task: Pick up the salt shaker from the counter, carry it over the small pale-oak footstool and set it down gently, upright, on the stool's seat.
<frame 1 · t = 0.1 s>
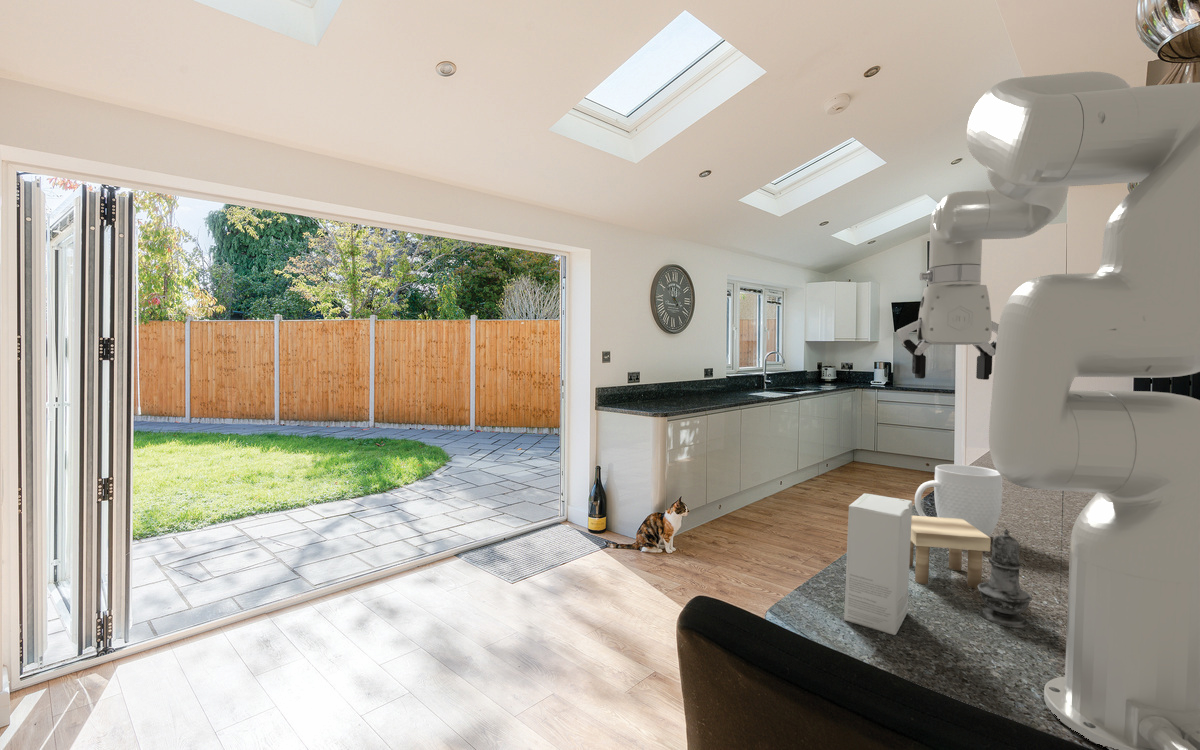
hand: (950, 378, 95), 31 cm above the countertop, tool pointing down, fingers open, 9 cm apart
skincare box: (877, 619, 73), on the countertop
mug: (959, 536, 108), on the countertop
salt shaker: (1003, 619, 74), on the countertop
stool: (938, 575, 88), on the countertop
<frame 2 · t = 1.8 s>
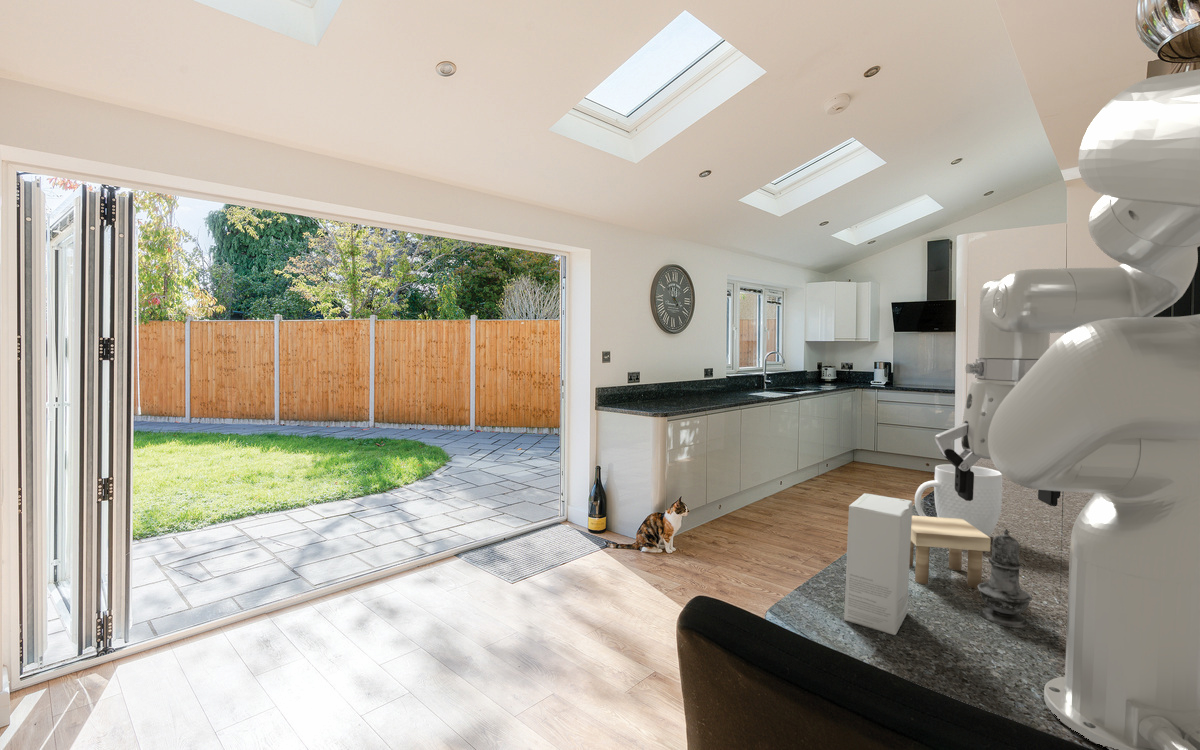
hand: (1005, 500, 74), 16 cm above the countertop, tool pointing down, fingers open, 9 cm apart
nothing on the countertop moved.
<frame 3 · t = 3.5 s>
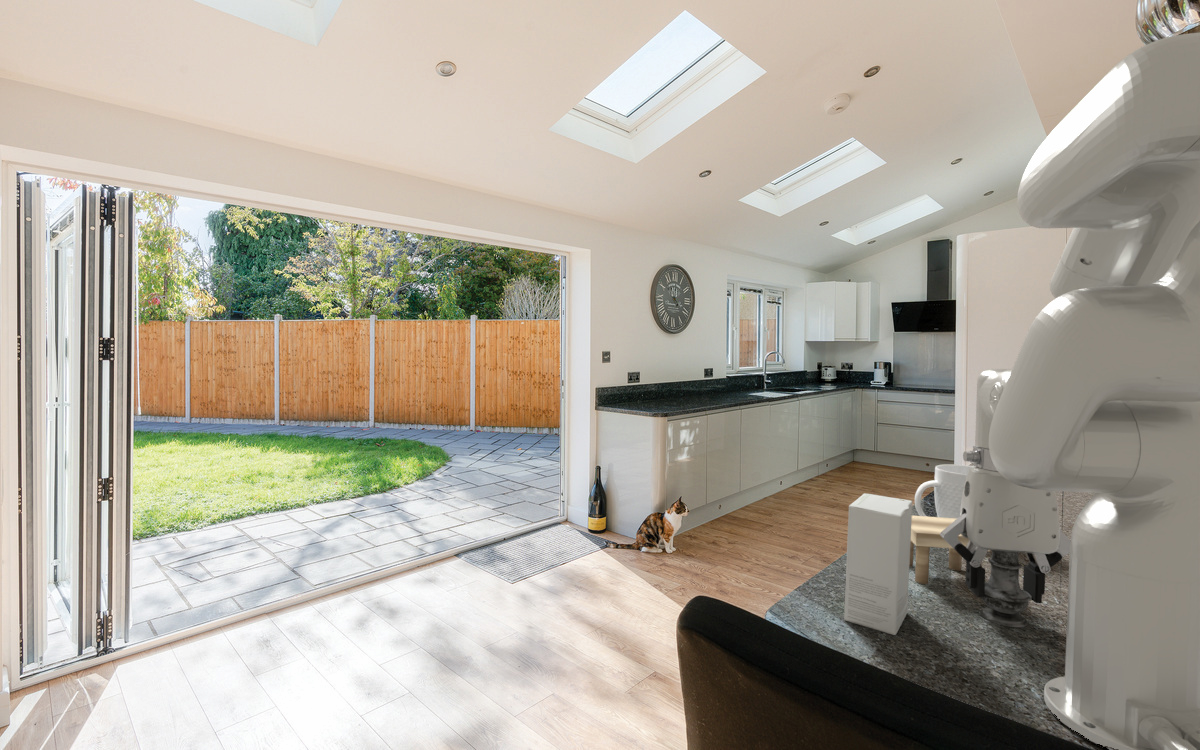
hand: (1003, 594, 74), 3 cm above the countertop, tool pointing down, fingers closed on salt shaker, 5 cm apart
salt shaker: (1003, 619, 74), on the countertop, touching gripper
everything else where it was.
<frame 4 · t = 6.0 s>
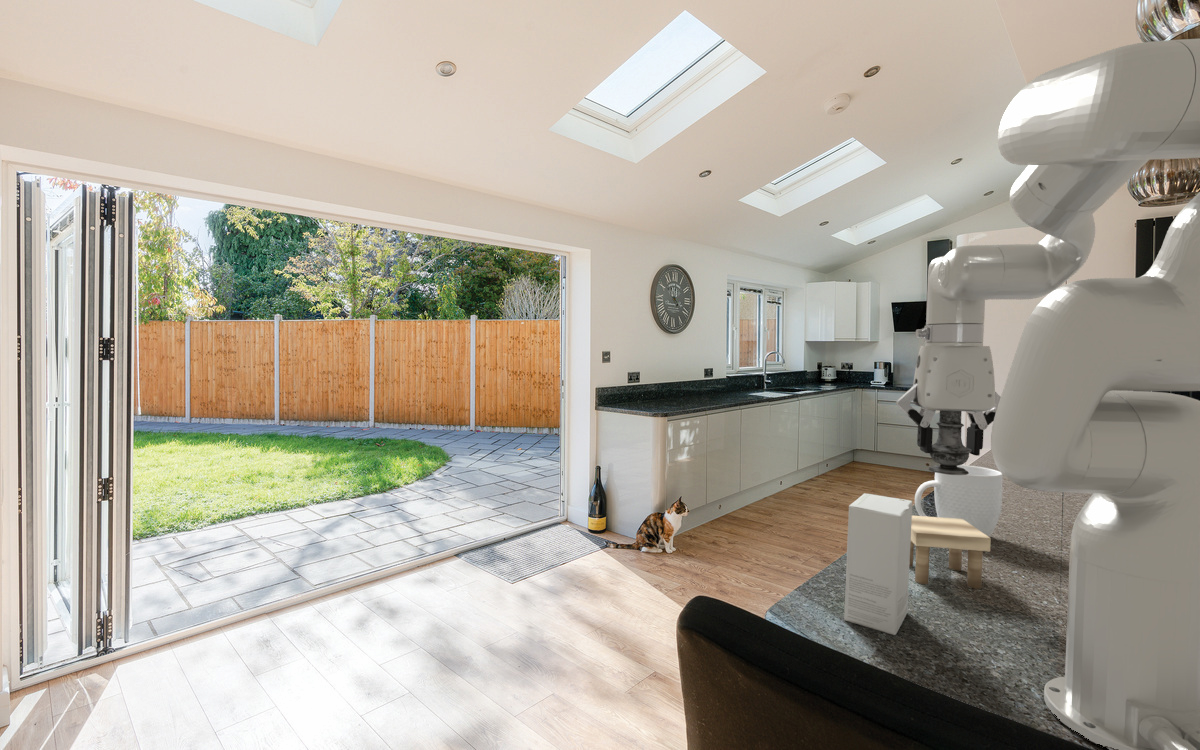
hand: (949, 451, 86), 20 cm above the countertop, tool pointing down, fingers closed on salt shaker, 5 cm apart
salt shaker: (948, 472, 86), point 17 cm above the countertop, touching gripper
everything else where it was.
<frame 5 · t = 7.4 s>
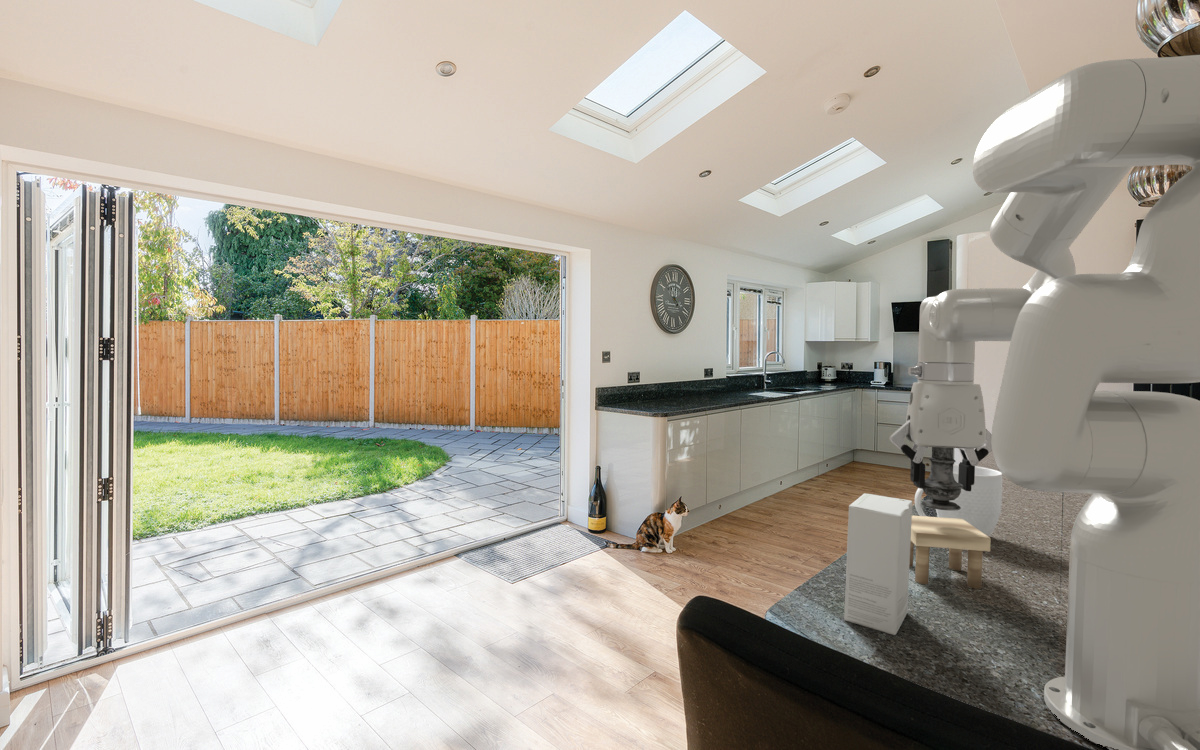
hand: (941, 486, 87), 14 cm above the countertop, tool pointing down, fingers closed on salt shaker, 5 cm apart
salt shaker: (940, 507, 88), point 11 cm above the countertop, touching gripper
everything else where it was.
when the fingers open (12 cm above the countertop, at t = 8.8 s): salt shaker stays where it is, resting on stool.
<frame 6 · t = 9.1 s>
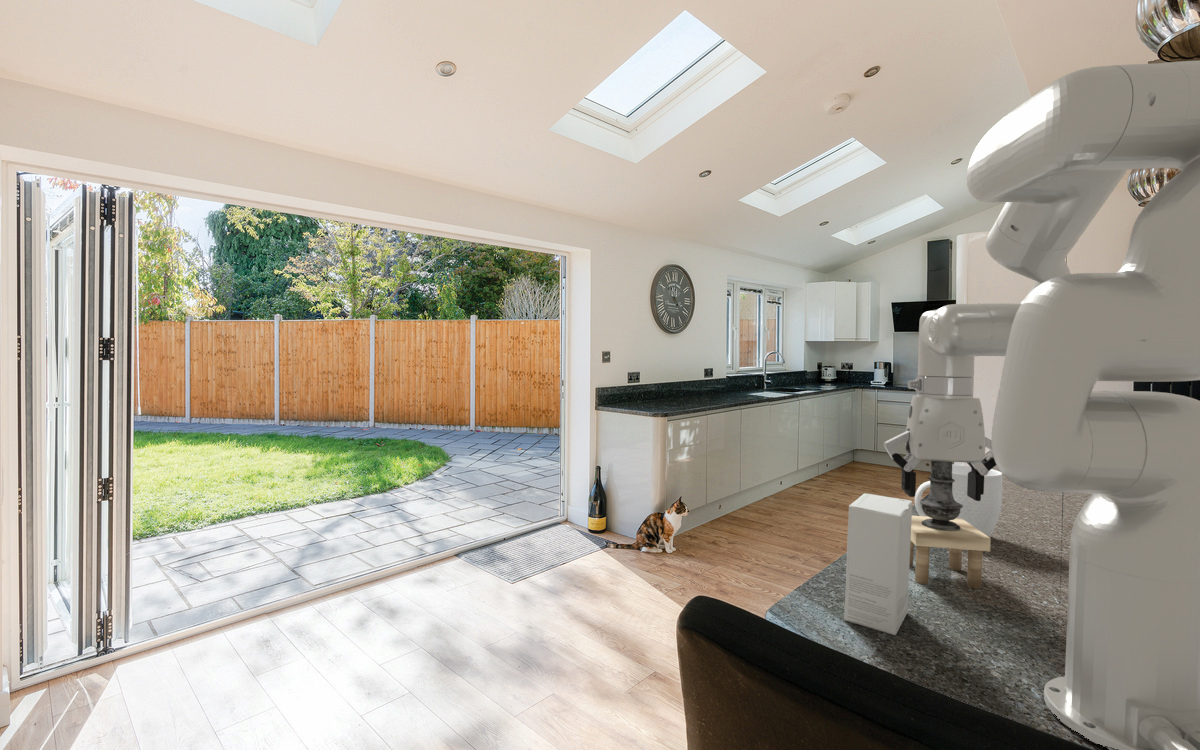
hand: (941, 496, 87), 13 cm above the countertop, tool pointing down, fingers open, 8 cm apart
salt shaker: (940, 526, 87), point 8 cm above the countertop, touching stool
everything else where it was.
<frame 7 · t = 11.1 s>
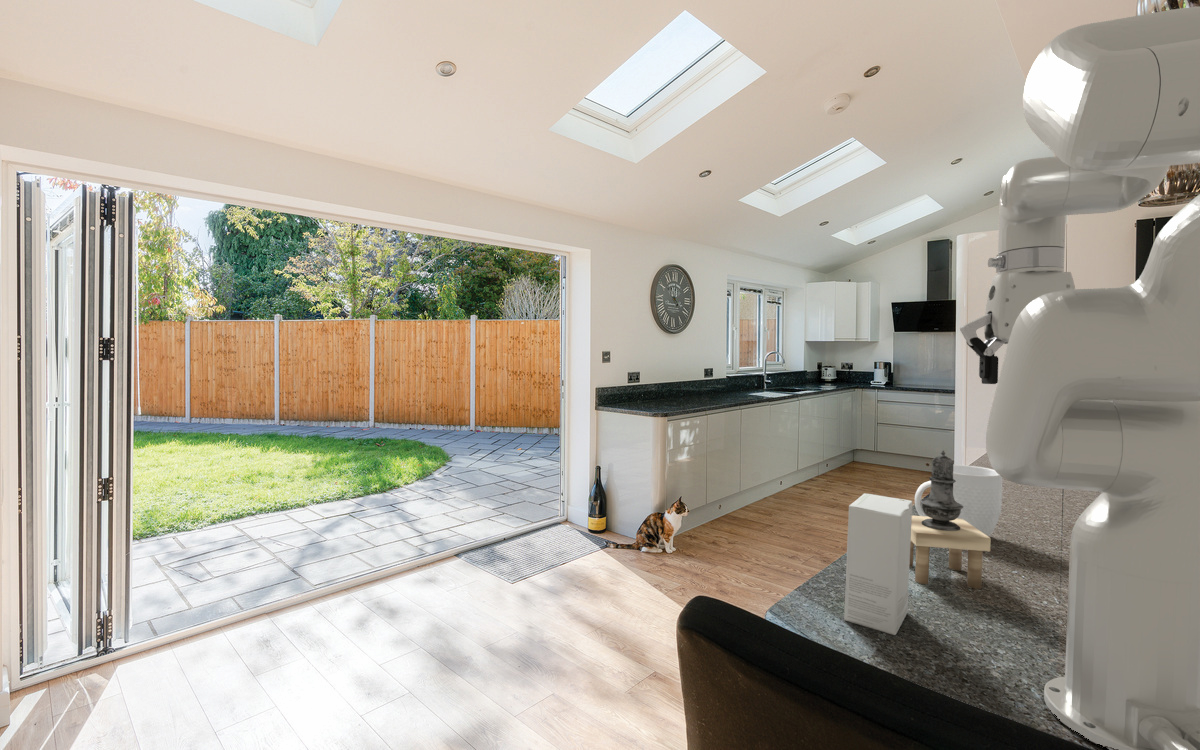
hand: (1026, 384, 79), 31 cm above the countertop, tool pointing down, fingers open, 9 cm apart
nothing on the countertop moved.
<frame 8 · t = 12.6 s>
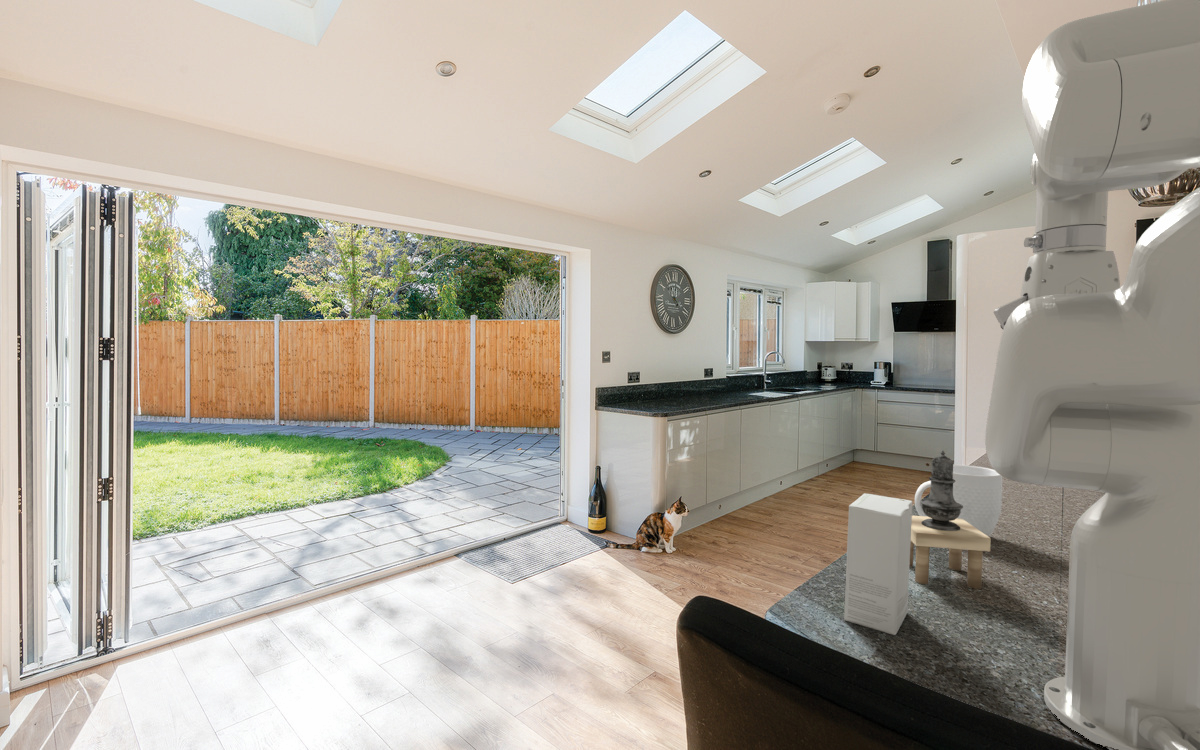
hand: (1064, 368, 76), 33 cm above the countertop, tool pointing down, fingers open, 9 cm apart
nothing on the countertop moved.
at the end: salt shaker inside the target area on the stool (0.2 cm from its centre), point 7.8 cm above the stool's base; salt shaker tilted 0°; the gripper is holding nothing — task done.
